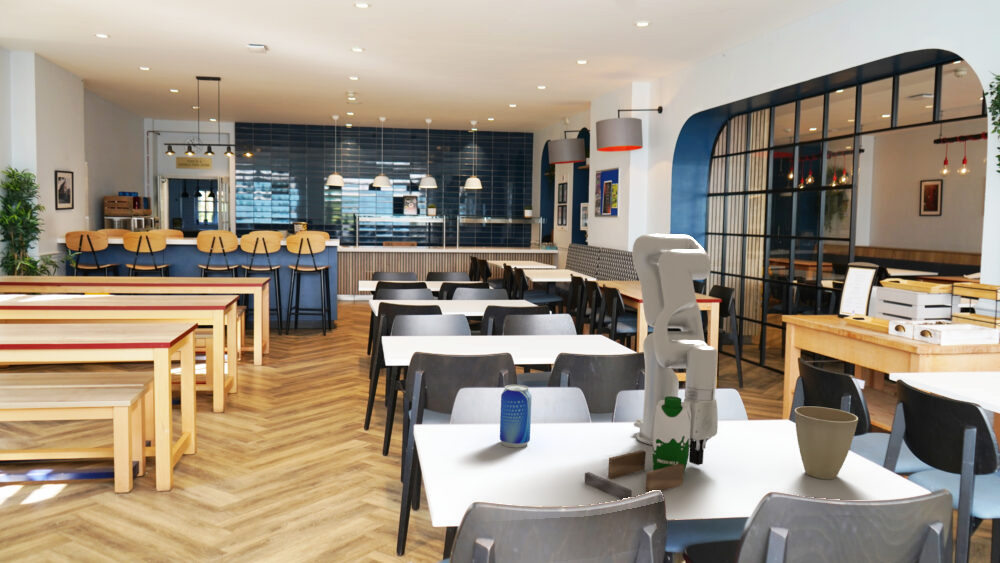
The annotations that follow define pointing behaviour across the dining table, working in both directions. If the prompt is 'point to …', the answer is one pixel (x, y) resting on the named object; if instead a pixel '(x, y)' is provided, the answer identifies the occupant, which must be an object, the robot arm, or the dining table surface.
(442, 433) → the dining table surface
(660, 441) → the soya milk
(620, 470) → the wooden planks
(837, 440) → the plant pot
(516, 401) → the beer can
